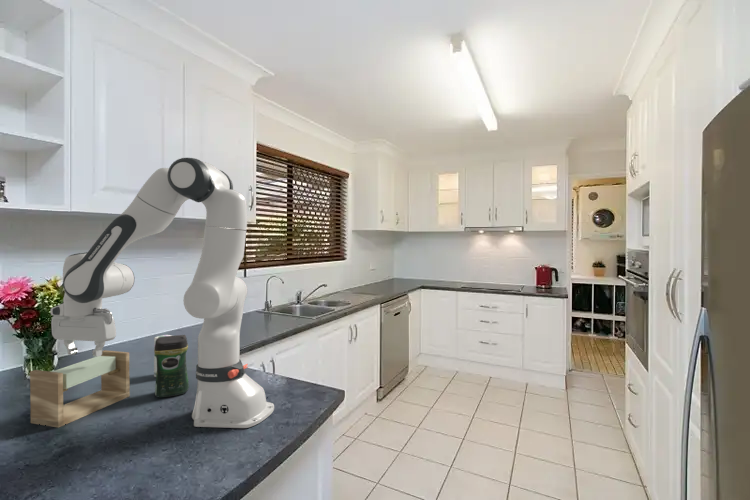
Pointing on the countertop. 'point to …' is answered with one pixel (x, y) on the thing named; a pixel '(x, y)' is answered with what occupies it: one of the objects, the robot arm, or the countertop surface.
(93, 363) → the shelf board
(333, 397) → the countertop surface
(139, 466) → the countertop surface
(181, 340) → the coffee jar
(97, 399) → the shelf unit
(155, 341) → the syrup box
